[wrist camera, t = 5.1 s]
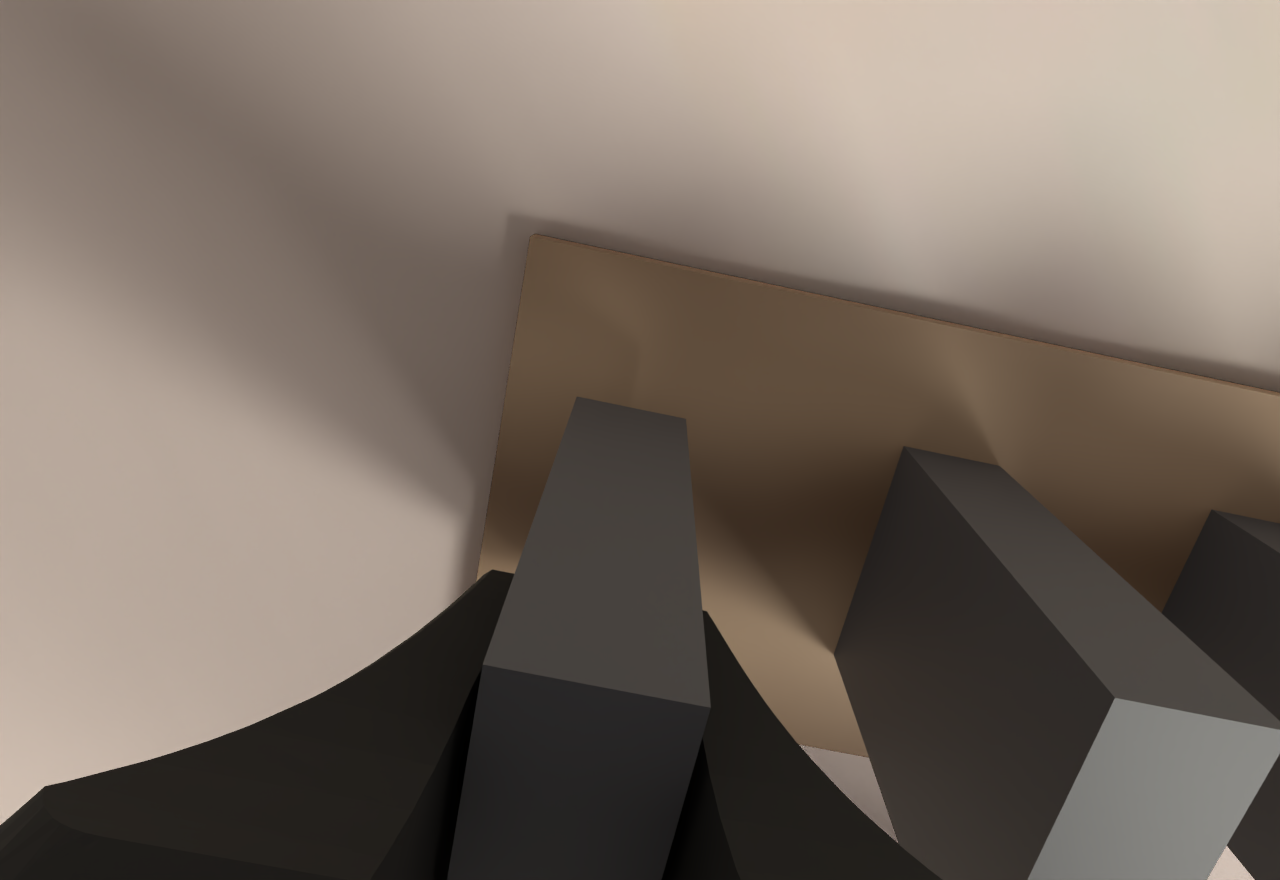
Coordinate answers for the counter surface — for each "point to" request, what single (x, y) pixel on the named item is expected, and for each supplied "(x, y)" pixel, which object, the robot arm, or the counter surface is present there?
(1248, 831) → the domino
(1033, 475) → the board
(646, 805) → the domino
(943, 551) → the domino
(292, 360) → the counter surface
